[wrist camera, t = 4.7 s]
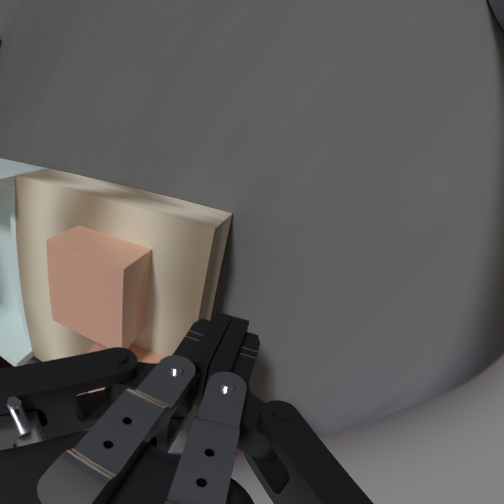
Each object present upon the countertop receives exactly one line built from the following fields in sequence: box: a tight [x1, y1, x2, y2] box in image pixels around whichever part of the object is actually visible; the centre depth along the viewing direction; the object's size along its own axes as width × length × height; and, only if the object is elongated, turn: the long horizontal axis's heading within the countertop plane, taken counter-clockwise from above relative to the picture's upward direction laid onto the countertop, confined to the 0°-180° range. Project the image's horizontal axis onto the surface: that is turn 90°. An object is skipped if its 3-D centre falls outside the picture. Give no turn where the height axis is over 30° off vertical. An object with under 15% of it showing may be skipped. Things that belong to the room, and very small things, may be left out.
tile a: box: [46, 225, 152, 349], centre depth 14 cm, size 4×4×2 cm
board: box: [15, 168, 233, 362], centre depth 18 cm, size 13×14×3 cm
